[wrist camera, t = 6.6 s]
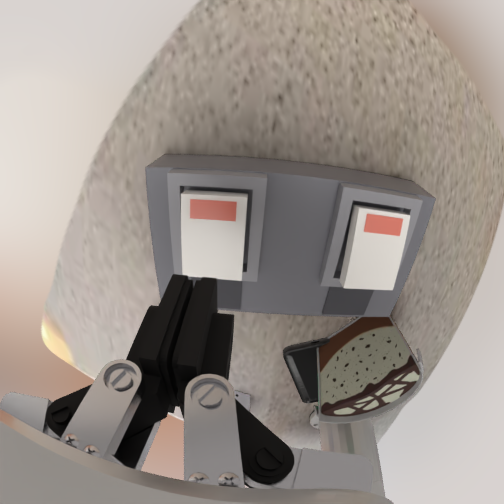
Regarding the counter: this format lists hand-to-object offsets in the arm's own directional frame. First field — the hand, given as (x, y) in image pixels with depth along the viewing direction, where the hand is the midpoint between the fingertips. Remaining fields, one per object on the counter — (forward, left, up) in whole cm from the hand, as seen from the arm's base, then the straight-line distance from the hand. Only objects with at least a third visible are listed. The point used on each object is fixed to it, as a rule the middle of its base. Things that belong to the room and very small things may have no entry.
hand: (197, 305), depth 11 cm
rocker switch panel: (-3, -5, -14) cm, 15 cm away
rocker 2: (-1, -10, -8) cm, 13 cm away
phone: (-24, -13, -14) cm, 31 cm away
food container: (-16, -16, -14) cm, 27 cm away
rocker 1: (-1, +1, -8) cm, 8 cm away
